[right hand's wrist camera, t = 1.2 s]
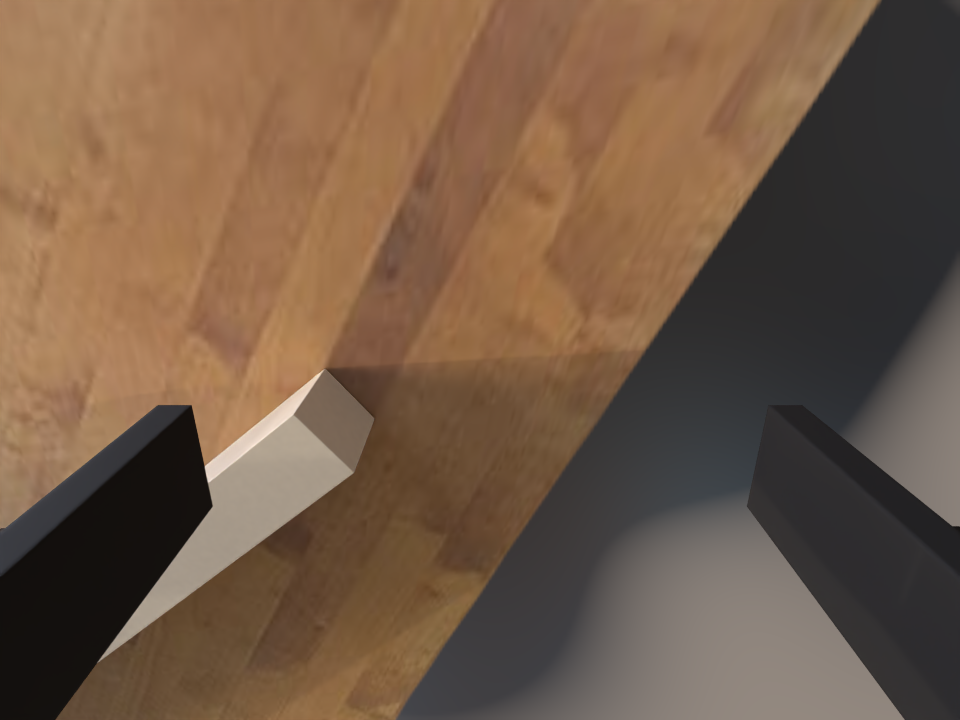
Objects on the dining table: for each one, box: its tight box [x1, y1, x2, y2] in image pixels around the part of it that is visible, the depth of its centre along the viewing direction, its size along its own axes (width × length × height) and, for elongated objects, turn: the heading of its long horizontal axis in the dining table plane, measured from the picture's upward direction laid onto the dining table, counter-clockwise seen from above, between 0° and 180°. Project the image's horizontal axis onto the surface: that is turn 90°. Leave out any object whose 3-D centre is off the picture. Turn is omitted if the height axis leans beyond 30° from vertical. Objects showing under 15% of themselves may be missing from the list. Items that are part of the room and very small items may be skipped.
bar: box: [98, 369, 374, 662], centre depth 47 cm, size 73×5×8 cm, turn 129°
